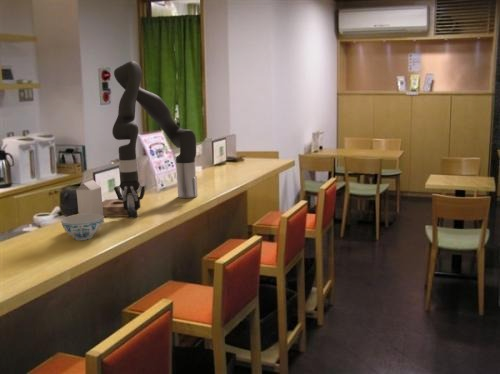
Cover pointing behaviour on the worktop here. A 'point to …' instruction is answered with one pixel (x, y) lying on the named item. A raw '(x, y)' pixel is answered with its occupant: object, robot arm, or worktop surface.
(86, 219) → the chinaware
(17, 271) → the worktop surface
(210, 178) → the worktop surface
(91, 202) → the milk carton
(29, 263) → the worktop surface
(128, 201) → the grey upright bar
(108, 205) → the block
